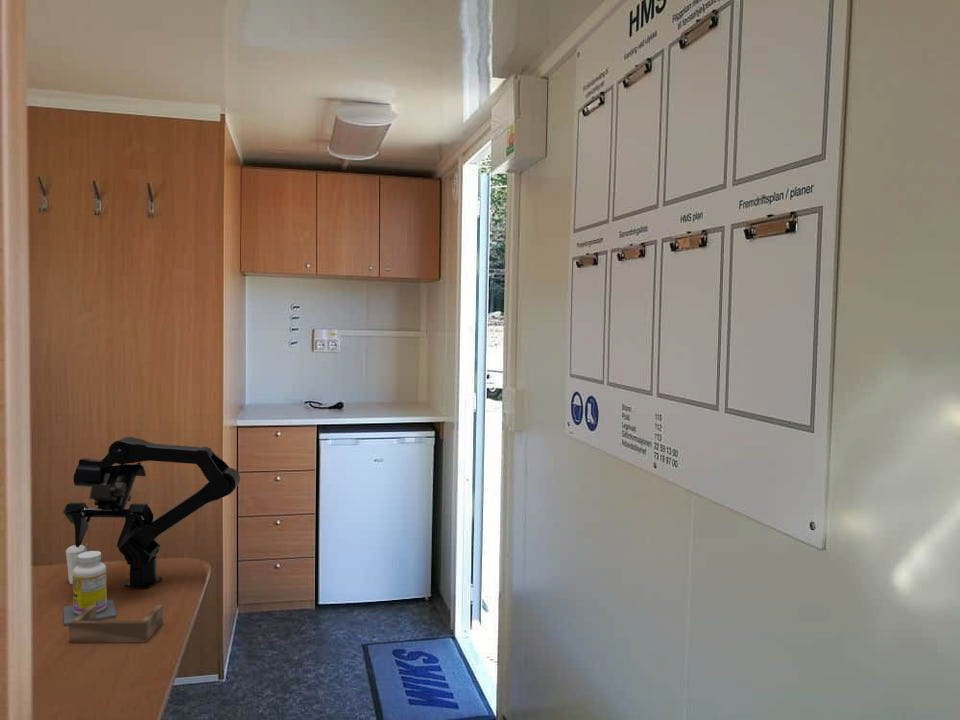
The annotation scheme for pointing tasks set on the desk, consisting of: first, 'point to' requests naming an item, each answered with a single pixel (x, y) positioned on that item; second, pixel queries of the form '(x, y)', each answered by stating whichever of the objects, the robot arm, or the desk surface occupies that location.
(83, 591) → the supplement bottle
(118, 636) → the frame
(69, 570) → the milkshake
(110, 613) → the charcoal mat
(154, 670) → the desk surface
